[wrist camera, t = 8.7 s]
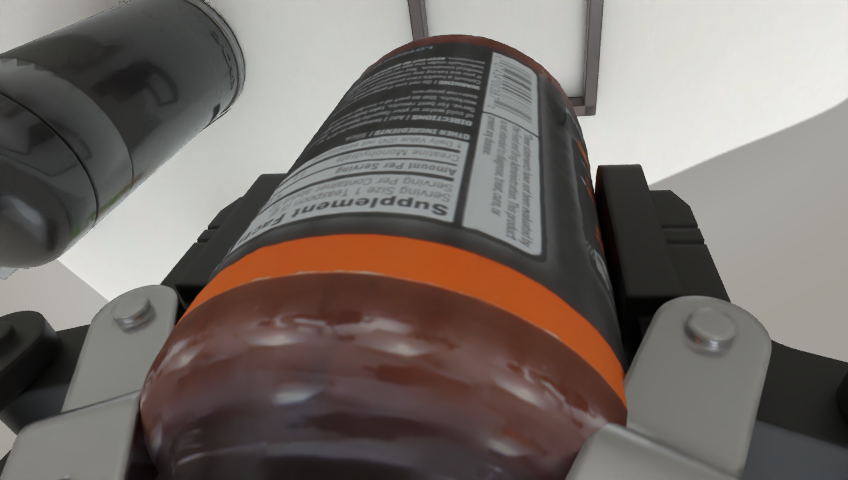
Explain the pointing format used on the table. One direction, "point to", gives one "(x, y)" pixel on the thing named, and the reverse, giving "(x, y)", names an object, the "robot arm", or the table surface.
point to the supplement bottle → (406, 293)
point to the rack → (592, 50)
